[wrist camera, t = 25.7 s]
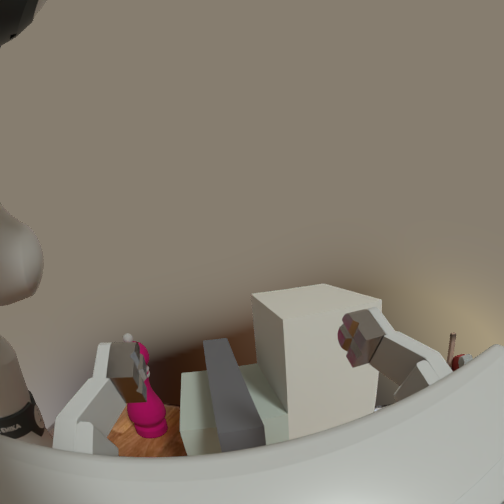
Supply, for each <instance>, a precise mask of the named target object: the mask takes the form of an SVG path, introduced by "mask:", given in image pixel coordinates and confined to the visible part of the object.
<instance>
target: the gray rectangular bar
mask: <svg viewBox="0 0 504 504" xmlns="http://www.w3.org/2000/svg"><path fill="white" fill-rule="evenodd" d="M203 345H204V352H205V359H206V366H207V373H208V380H209V386H210V392H211V398H212V404H213V410H214V416H215V421H216V427H217V432H218V437H219V442H220V446H221V451H222V452H230V451H236V450H243V449H248V448H254V447H259V446H264V445H266V439H265V429H264V424H263V422H262V420H261V418H260V416H259V413H258V411H257V409H256V407H255V404H254V402H253V400H252V397H251V395H250V393H249V391H248V388H247V386H246V384H245V381H244V379H243V376H242V374H241V372H240V369H239V367H238V365H237V362H236V360H235V357H234V355H233V353H232V350H231V347H230V345H229V342H228V340H227V338H222V339H214V340H206V341H203Z"/></svg>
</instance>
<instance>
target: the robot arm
mask: <svg viewBox="0 0 504 504" xmlns="http://www.w3.org/2000/svg"><path fill="white" fill-rule="evenodd" d="M46 1H47V0H0V47H1V45H3V44H5V43H6V42H8V41H10V40H11V39H13V38H15V37H16V36H17V35H19V34H20V33H21V32H22V31H23V30H24V29H25V28H26V27H27V26H28V25H29V24H31V23H32V21H33V19H34V17H35V15H36V14H37V13H38V12H39V11H40V9H41V8H42V7H43V5H44V4H45V2H46ZM43 266H44V263H43V253H42V249H41V245H40V243H39V240H38V238H37V237H36V235H35V233H34V232H33V231H32V229H31V228H30V227H29V226H28V225H26V224H24V223H23V222H21V221H19V220H18V219H16V218H15V217H13V216H12V215H11V214H10V213H9V212H8V211H7V210H6V209H5V208H4V207H3V206H2V205H1V203H0V306H4V305H9V304H12V303H15V302H17V301H20V300H23V299H25V298H28V297H30V296H33V295H34V294H35V292H36V291H37V289H38V287H39V284H40V282H41V279H42V274H43ZM342 321H343V324H342V325H341V326H340V327H339V330H338V341H339V344H340V346H341V348H342V349H344V350H345V351H347V354H346V357H347V359H348V361H349V362H350V364H351V366H352V368H354V367H357V366H361V365H364V364H368V363H369V364H370V365H371V366H372V367H374V368H375V369H376V370H378V371H379V372H381V373H382V374H384V375H385V376H386V377H388V378H389V379H390V380H392V381H393V382H395V383H396V384H398V385H399V386H400V387H399V388H398V389H397V391H396V392H395V393H394V397H395V399H396V401H397V402H396V403H394V404H391V405H389V406H387V407H385V408H382V409H380V410H378V411H375V412H373V413H370V414H368V415H365V416H363V417H360V418H358V419H355V420H352V421H350V422H347V423H344V424H341V425H338V426H335V427H332V428H329V429H326V430H323V431H320V432H316V433H313V434H309V435H306V436H302V437H299V438H295V439H291V440H287V441H283V442H278V443H274V444H269V445H264V446H259V447H254V448H248V449H243V450H236V451H230V452H222V453H214V454H205V455H193V456H178V457H122V456H119V455H118V448H117V447H116V446H115V445H114V444H113V443H112V442H111V441H110V440H109V439H107V436H108V434H109V433H110V431H111V429H112V428H113V426H114V424H115V423H116V421H117V419H118V418H119V416H120V414H121V413H122V411H123V409H124V408H125V406H126V403H142V402H147V387H146V385H145V383H144V381H145V380H146V378H147V369H146V363H145V359H144V356H143V355H142V354H141V353H140V346H139V344H138V342H114V343H113V342H112V343H100V344H99V345H98V349H97V354H96V360H95V366H94V372H93V378H89V379H88V380H87V381H86V382H85V384H84V385H83V386H82V387H81V388H80V389H79V391H78V392H77V393H76V394H75V395H74V396H73V398H72V399H71V400H70V401H69V403H68V404H67V405H66V406H65V407H64V408H63V410H62V411H61V412H60V413H59V414H58V416H57V417H56V420H55V428H54V436H53V438H52V437H51V435H50V434H49V432H48V431H47V429H46V428H45V424H44V422H43V418H42V415H41V413H40V410H39V408H38V406H37V405H36V403H35V400H34V398H33V396H32V394H31V392H30V391H29V390H28V389H27V386H26V383H25V381H24V378H23V375H22V372H21V369H20V366H19V363H18V359H17V356H16V353H15V351H14V349H13V348H12V346H11V345H10V343H9V342H8V341H7V340H6V339H5V338H4V337H2V336H1V335H0V504H504V347H503V346H501V345H498V344H495V345H493V346H491V347H489V348H488V349H487V350H485V351H484V352H482V353H481V354H480V355H479V356H477V357H475V358H474V359H472V360H471V361H469V362H468V363H466V364H465V365H463V366H462V367H460V368H458V369H457V370H455V371H454V372H453V371H452V369H451V368H450V367H449V365H448V364H447V362H446V361H445V360H444V358H443V357H442V356H441V354H440V353H439V352H438V351H436V350H434V349H432V348H430V347H428V346H426V345H424V344H422V343H420V342H418V341H416V340H415V339H412V338H411V337H409V336H407V335H405V334H403V333H401V332H399V331H397V332H396V331H395V330H394V329H393V327H392V326H391V325H390V323H389V322H388V321H387V319H386V318H385V317H384V315H383V314H382V313H381V311H380V310H379V309H378V308H377V307H372V308H368V309H363V310H359V311H354V312H350V313H346V314H345V315H344V316H343V318H342Z"/></svg>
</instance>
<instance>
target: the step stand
mask: <svg viewBox="0 0 504 504" xmlns="http://www.w3.org/2000/svg"><path fill="white" fill-rule="evenodd" d="M251 301H252V312H253V322H254V334H255V344H256V355H257V364H251V365H244V366H238V367H239V369H240V372H241V374H242V376H243V379H244V381H245V384H246V386H247V388H248V391H249V393H250V395H251V397H252V400H253V402H254V404H255V407H256V409H257V411H258V413H259V416H260V418H261V420H262V422H263V424H264V429H265V439H266V445H269V444H274V443H278V442H283V441H287V440H291V439H295V438H299V437H302V436H306V435H309V434H313V433H316V432H320V431H323V430H326V429H329V428H332V427H335V426H338V425H341V424H344V423H347V422H350V421H352V420H355V419H358V418H360V417H363V416H365V415H368V414H370V413H373V412H374V409H375V402H376V393H377V383H378V373H379V371H378V370H376V369H375V368H374V367H372V366H371V365H370V364H369V363H368V364H364V365H361V366H357V367H354V368H352V366H351V364H350V362H349V361H348V359H347V357H346V354H347V351H345V350H344V349H342V348H341V346H340V344H339V341H338V330H339V327H340V326H341V325H342V324H343V321H342V318H343V316H344V315H345V314H346V313H350V312H354V311H359V310H363V309H368V308H372V307H377V308H378V309H379V310H380V311H381V313H382V300H381V299H377V298H374V297H370V296H366V295H363V294H359V293H356V292H352V291H348V290H345V289H341V288H338V287H334V286H331V285H327V284H318V285H311V286H305V287H298V288H291V289H284V290H276V291H269V292H262V293H254V294H251ZM180 433H181V437H182V440H183V443H184V447H185V450H186V453H187V456H193V455H205V454H214V453H222V451H221V446H220V442H219V437H218V432H217V427H216V421H215V416H214V410H213V404H212V398H211V392H210V386H209V380H208V373H207V371H198V372H189V373H182V379H181V403H180Z"/></svg>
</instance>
